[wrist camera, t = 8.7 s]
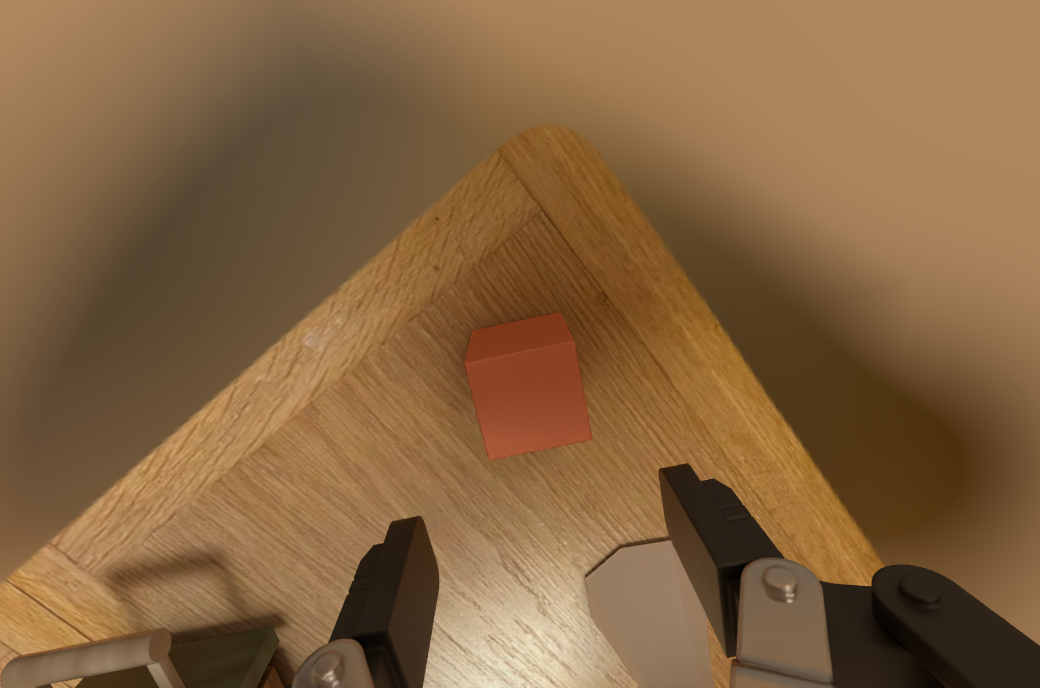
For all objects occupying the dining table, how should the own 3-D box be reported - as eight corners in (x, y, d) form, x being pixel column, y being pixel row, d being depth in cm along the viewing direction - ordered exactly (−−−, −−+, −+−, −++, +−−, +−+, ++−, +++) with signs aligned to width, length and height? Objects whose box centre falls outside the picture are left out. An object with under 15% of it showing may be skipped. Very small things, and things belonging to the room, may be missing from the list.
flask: (677, 518, 28) (767, 687, 18) (723, 607, 30) (825, 802, 20) (563, 570, 29) (592, 758, 19) (615, 653, 31) (665, 861, 21)
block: (491, 411, 26) (488, 461, 21) (471, 330, 24) (463, 363, 20) (576, 394, 25) (592, 440, 21) (560, 311, 24) (574, 340, 19)
